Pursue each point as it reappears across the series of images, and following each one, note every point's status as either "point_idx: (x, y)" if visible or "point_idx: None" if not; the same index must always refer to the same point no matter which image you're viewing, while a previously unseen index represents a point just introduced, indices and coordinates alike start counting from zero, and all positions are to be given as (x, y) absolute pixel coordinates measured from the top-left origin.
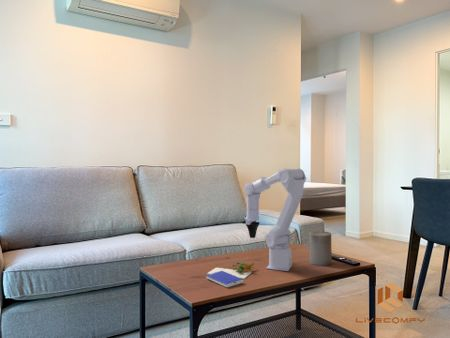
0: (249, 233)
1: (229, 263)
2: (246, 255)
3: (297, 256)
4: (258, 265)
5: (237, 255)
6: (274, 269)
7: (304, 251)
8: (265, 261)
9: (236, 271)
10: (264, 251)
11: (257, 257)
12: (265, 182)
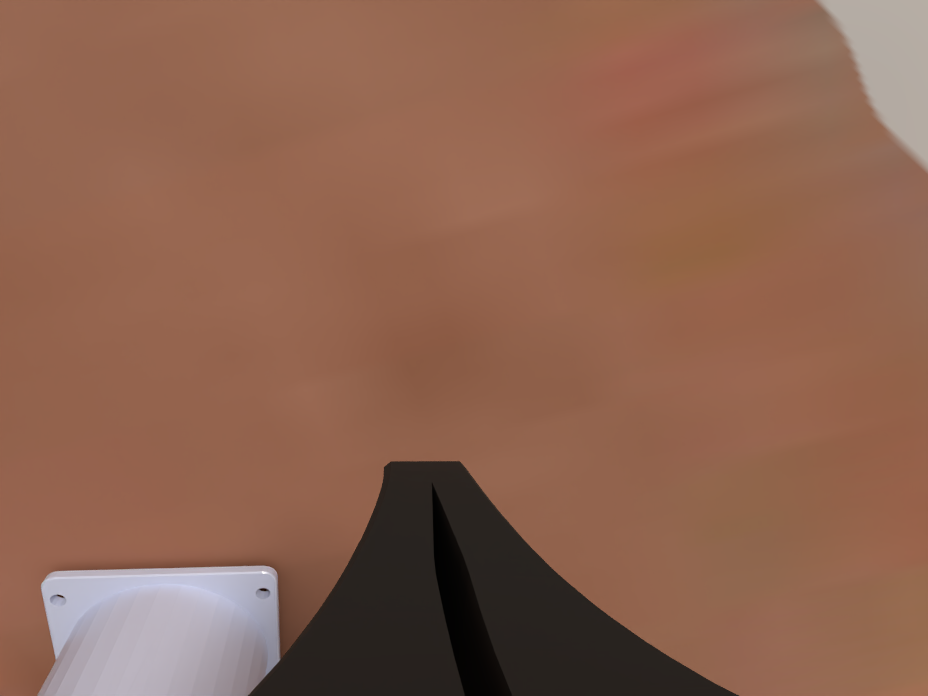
0: (367, 531)
1: (30, 17)
2: (628, 157)
3: None
4: (160, 453)
5: (596, 5)
6: (60, 649)
7: (903, 691)
8: None
9: None
10: (888, 340)
11: (552, 338)
12: None
